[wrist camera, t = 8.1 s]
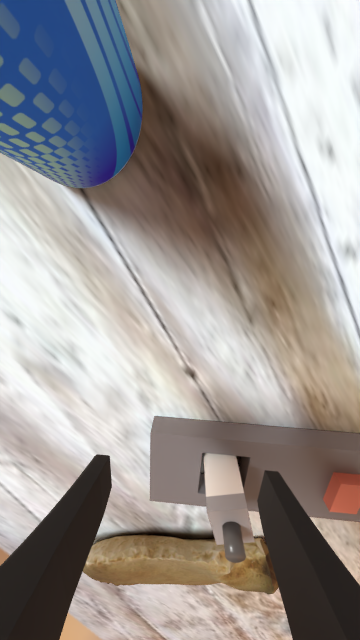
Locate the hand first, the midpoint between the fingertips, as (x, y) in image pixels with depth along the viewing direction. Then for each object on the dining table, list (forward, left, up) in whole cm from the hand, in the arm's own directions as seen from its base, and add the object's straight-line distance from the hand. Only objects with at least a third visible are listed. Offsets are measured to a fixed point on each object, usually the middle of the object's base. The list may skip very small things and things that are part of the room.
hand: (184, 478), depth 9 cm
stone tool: (0, +27, -10) cm, 28 cm away
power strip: (-8, +10, -9) cm, 16 cm away
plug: (-4, +10, -10) cm, 14 cm away
